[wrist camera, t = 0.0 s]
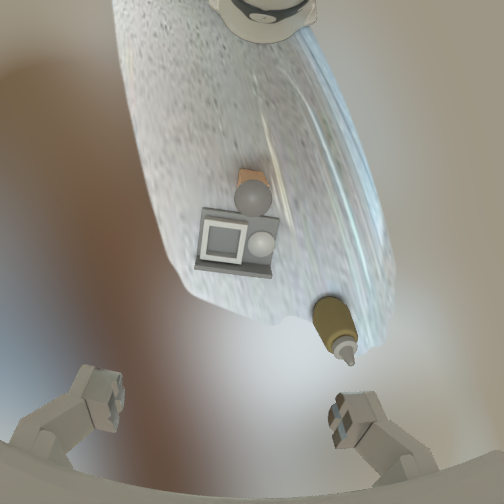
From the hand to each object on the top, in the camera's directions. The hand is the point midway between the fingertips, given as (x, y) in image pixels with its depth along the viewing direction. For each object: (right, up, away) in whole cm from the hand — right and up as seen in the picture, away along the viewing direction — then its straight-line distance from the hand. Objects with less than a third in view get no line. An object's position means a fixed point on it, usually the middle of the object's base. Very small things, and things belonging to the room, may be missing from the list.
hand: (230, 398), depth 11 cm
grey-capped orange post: (0, +18, +45) cm, 48 cm away
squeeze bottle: (+17, -7, +57) cm, 59 cm away
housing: (-2, +8, +49) cm, 50 cm away
